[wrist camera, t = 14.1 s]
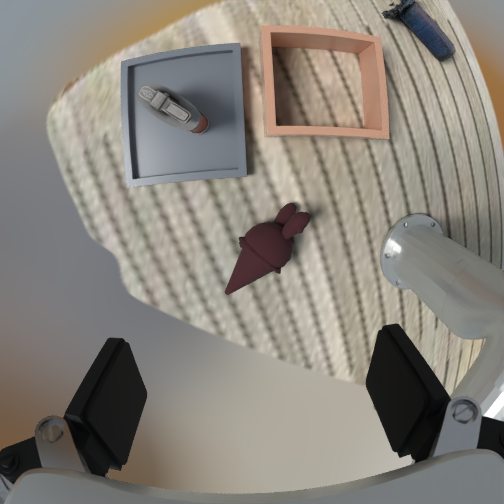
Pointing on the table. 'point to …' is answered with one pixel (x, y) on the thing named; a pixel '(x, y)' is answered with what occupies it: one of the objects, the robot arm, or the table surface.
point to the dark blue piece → (423, 28)
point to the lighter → (172, 108)
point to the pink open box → (336, 41)
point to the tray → (176, 140)
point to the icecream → (267, 247)
